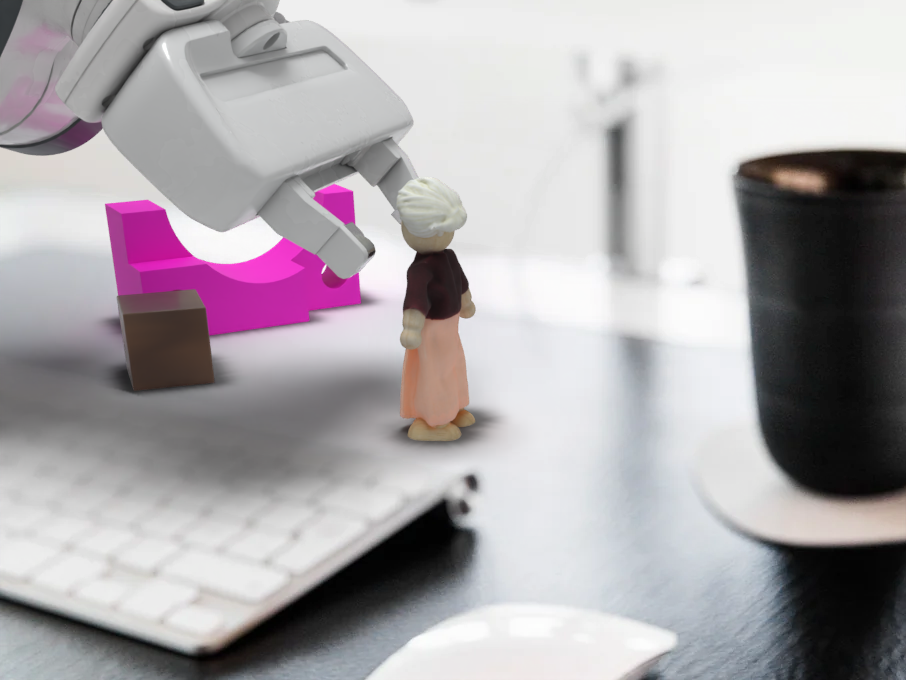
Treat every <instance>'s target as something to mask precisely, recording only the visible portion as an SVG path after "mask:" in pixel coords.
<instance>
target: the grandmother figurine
mask: <svg viewBox="0 0 906 680" xmlns="http://www.w3.org/2000/svg"><path fill="white" fill-rule="evenodd" d="M396 204H397V206H396V209H397V210H398V211H399V215H400V219H401V220H402V222H401V224H400V230H401V234H402V237H403V240H404V241H405V243H406V244H407V246H408V247H409V248H411V249H412V250H413V251H415V255H414V258H413V260H412V262H411V263H410V264H409V266H408V267H407V270H406V289H405V295H404V299H403V304H402V322H401V323H402V331H401V333H400V336H399V342H400V344H401V346H402V347H403V348H404V349H405V350H404V356H403V363H402V369H401V384H400V393H399V395H400V397H399V400H400V401H399V417H401V418H402V419H405V420H410V419H414V420H413V422H412V423H411V424H410V426H409V428H408V431H407V438H409V439H410V440H414V441H422V442H425V441H426V442H452V441H456V440H458V439H460V438H461V436H462V432H461V429H460V428H465V427H470V426H472V425H474V424H475V423H476V418H475V417H474V415H473V413H471V412H470V411H468V410H467V409H465V408H466V407H467V406H469V404H470V392H469V382H468V374H467V373H468V372H467V361H466V355H465V350H464V347H463V344H462V340H461V337H460V333H459V324H460V318H461V319H471V318H472V317H473V316H475V313H476V311H477V310H476V308H477V307H476V305H475V303H474V301H473V300H472V298H473V296H472V292H471V290H470V282H469V279H468V278H467V276H466V274H465V272H464V269H463V267H462V265H461V264H460V261H459V259H458V257H457V254H456V252H455V251H454V250H453V249H452V248H448V247H450V244H451V243H452V241H453V239H454V237H455V232H456V231H457V230H460V229H461V228H463V227H464V226H465V224H466V223H467V220H468V213H467V210H466V209H465V207H464V205H463V202H462V199H461V197H460V194H459V193H458V192H457V191H456V190H454V189H453V188H451V187H450V186H449V185H448V184H447V183H445V182H443V181H442V180H440V179H438V178H436V177H429V176H424V177H419V178H417V179H414V180H410V181H408V182H407V183H406V185H405V186H404V187H403V188H402V189H401V190H400V191H398V196H397V203H396Z"/></svg>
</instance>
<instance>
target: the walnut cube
mask: <svg viewBox="0 0 906 680" xmlns="http://www.w3.org/2000/svg"><path fill="white" fill-rule="evenodd" d="M116 303H117V309H118V318H119V324H120V331H121V336H122V343H123V344H122V345H123V351H124V357H125V365H126V370H127V373H128V374H127V375H128V377H129V380H130V384H131V386H132V390H133V392H137V391H138V392H139V391H146V390H147V391H148V390H157V389H166V388H176V387H185V386H195V385H196V386H197V385H206V384H215V383H216V380H215V372H214V364H213V355H212V348H211V346H212V345H211V338H210V336H209V329H208V321H207V313H206V307H205V306H204V304H203V302H202V300H201V298H200V297H199V295H198V293H197V291H196V290H195V289H192V290H180V291H167V292H155V293H143V294H131V295H118V294H117V296H116Z"/></svg>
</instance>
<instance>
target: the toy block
mask: <svg viewBox="0 0 906 680" xmlns="http://www.w3.org/2000/svg"><path fill="white" fill-rule="evenodd" d="M315 195H316V196H315V197H314V198H313V200H315V201H316V202H317V203H319V204H320V205H321V206H322V207H324V208H325V209H326V210H328V211H329V212H330V213H331V214H333V215H334V216H335V217H337V218H338V219H339V220H340V221H342V222H343V223H344V224H345V225H346V224H348V223H350V222H353V223H354V224H355V225H356V212H355V196H354V190H352V189H349V188H346V187H345V186H341V185H338V184H337V183H335V184H333V185H331V186H328V187H326V188H324V189H322V190H319V191H317V192H315ZM104 206H105V207H104V208H105V214H106V221H107V230H108V235H109V242H110V249H111V256H112V263H113V269H114V277H115V281H116V282H115V283H116V291H117V296H118V295H131V294H143V293H155V292H167V291H180V290H192V289H195V290H196V291H197V293H198V295H199V297H200V298H201V300H202V302H203V304H204V306H205V307H206V313H207V321H208V329H209V337H210V336H217V335H225V334H231V333H238V332H244V331H252V330H259V329H265V328H273V327H279V326H287V325H294V324H300V323H308V322H310V312H311V311H317V310H323V309H325V310H326V309H331V308H340V307H345V306H346V307H347V306H353V305H360V304H362V298H361V283H360V271H359V272H358V273H356V274H355V275H353V276H351V277H350V278H346V279H342V278H340V277H338V276H337V275H336V274H335V273H334V272H333V271H332V270H331V269H330V268H329V267H328V266H327V265H326V264H325V263H324V262H323V261H322V260H321V259H320V258H319V257H318V256H317V255H316V254H313V253H311V252H309V251H307V250H306V249H304V248H302V247H300V246H298V245H297V244H295V243H293V242H291V241H289V240H288V239H286V238H284V237H281V239H280V240H279V241H278V242H277V243H276V244H275V245H273V247H271V248H270V249H269V250H267V251H265V252H264V253H263V254H261V255H258V256H256V257H254V258H251V259H248V260H245V261H241V262H234V263H217V262H211V261H206V260H205V259H201V258H198V257H196V256H195V255H193V254H192V253H191V252H190V251H189V250H188V248H187V247H186V246H184V244H183V242H181V240H180V239H179V237H178V236H177V234H176V232H175V231H174V229H173V226H172V223H171V222H170V219H169V217H168V214H167V210H166V209H165V208H164V207H162V206H160V205H158V204H156V203H155V202H153V201H151V200H149V199H140V200H130V201H119V202H108V203H107V202H106V203H104ZM356 226H357V225H356ZM325 266H326V267H325ZM324 268H325V269H324ZM323 269H324V270H323Z"/></svg>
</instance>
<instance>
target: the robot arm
mask: <svg viewBox="0 0 906 680" xmlns="http://www.w3.org/2000/svg"><path fill="white" fill-rule="evenodd" d="M279 4H280V0H0V148H1V149H5V150H7V151H11V152H16V153H19V154H22V155H28V156H38V157H39V156H40V157H42V156H43V157H45V156H54V155H60V154H64V153H67V152H70V151H73V150H76V149H78V148H79V147H82V146H83V145H85V144H86V143H88V142H89V141H90V140H92V139H94V137H96V136H97V135H98V134H99V133H100V132H101V131H102V130H103V132H104V134H105V135H106V137H107V139H108V140H109V141H110V142H111V144H112V145H113V147H115V149H116V150H117V151H118V152H119V153H120V154H121V155H122V156H123V157H124V158H125V159H126V160H127V161H128V162H129V163H130V164H131V165H132V166H133V167H134V168H135V169H136V170H137V171H138V172H139V173H140V174H141V175H142V176H143V177H145V179H146V180H147V181H148V182H149V183H150V184H151V185H152V186H153V187H154V188H155V189H156V190H157V191H159V192H160V194H162V195H163V196H164V197H165V198H166V199H167V200H168V201H170V203H172V204H173V206H175V207H176V208H177V209H178V210H179V211H180V212H182V213H183V215H185V216H187V218H190V219H191V220H193V221H195V222H197V223H199V224H200V225H203V226H205V227H207V228H209V229H211V230H213V231H215V232H218V233H226V232H228V231H230V230H231V231H232V230H233V229H235V228H238V227H240V226H242V225H245V224H247V223H249V222H251V221H253V220H255V219H258V218H260V217H261V219H262V220H263V221H264V222H265V223H266V224H267V225H268V226H269V227H270V228H271V229H272V230H273V231H274V232H275V233H276V234H277V235H278V236H280V237H281V238H283V237H284V238H286V239H288V240H289V241H291V242H293V243H295V244H297V245H298V246H300V247H302V248H304V249H306V250H307V251H309V252H311V253H313V254H316V255H317V256H318V257H319V258H320V259H321V260H322V261H323V262H324V263H325V264H326V265H327V266H328V267H329V268H330V269H331V270H332V271H333V272H334V273H335V274H336V275H337V276H338V277H340V278H342V279H346V278H350V277H351V276H353V275H355V274H356V273H358V272H359V273H360V272H361V270H363V269H364V268H365V267H366V265H368V263H370V261H371V260H373V258H374V257H375V255H376V252H377V251H376V246H375V244H374V243H373V242H372V241H371V239H369V238H368V237H366V236H365V235H364V233H363V231H362V230H361V229H360V228H359V227H358V226H357V225H355V224H356V223H355V224H354V223H353V222H350V223H348V224H346V225H345V224H344V223H343V222H342V221H340V220H339V219H338V218H337V217H335V216H334V215H333V214H331V213H330V212H329V211H328V210H326V209H325V208H324V207H322V206H321V205H320V204H319V203H317V202H316V201H315V200H313V198H314V197H315V196H316V195H315V192H317V191H319V190H322V189H324V188H326V187H328V186H331V185H333V184H338V183H340V182H342V181H344V180H346V179H348V178H351V177H354V176H355V175H358V174H359V175H361V177H362V178H363V179H364V180H365V181H366V182H367V183H368V184H369V185H370V186H371V187H373V188H374V187H378V189H379V190H380V191H381V193H382V194H383V196H384V197H385V199H386V200H387V201H388V203H389V204H390V206H391V207H392V209H393V210H394V211H392V212H391V214H390V215H391V216H392V218H393V219H394V220H395V221H396V222H397V223H398V224H399V225H401V222H402V220H401V219H400V215H399V211H398V210H397V209H396V206H397V204H396V203H397V196H398V191H400V190H401V189H402V188H403V187H404V186H405V185H406V183H407V182H408V181H410V180H414V179H417V178H420V177H419V175H418V173H417V171H416V169H415V168H414V165H413V163H412V161H411V160H410V156H409V155H408V154H407V153H406V152H405V151H404V149H402V148H401V146H400V145H399V144H400V143H401V142H402V140H403V139H404V138H405V137H406V135H407V134H408V133H409V131H411V129H412V128H413V126H414V118H413V116H412V114H411V111H410V109H409V108H408V106H407V104H406V103H405V102H404V100H403V99H402V98H401V96H399V94H397V93H396V92H395V91H394V89H392V88H391V87H390V86H389V84H387V83H386V81H384V80H383V79H382V78H381V77H380V75H378V74H377V72H375V70H373V69H372V68H371V67H370V66H369V64H367V63H366V62H365V61H364V60H363V59H361V57H360V56H358V55H357V53H356V52H354V51H353V50H352V49H351V48H350V47H349V46H347V45H346V44H345V42H344V41H342V40H341V39H340V38H339V37H338V36H336V35H335V34H334V33H333V32H332V31H330V30H329V29H328V28H326V27H324V26H323V25H321V24H320V23H318V22H316V21H312V20H307V19H300V20H294V21H290V20H287V19H286V17H285V15H283V14H282V13H281V12H278V11H277V10H278V7H279ZM326 265H325V266H326Z"/></svg>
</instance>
